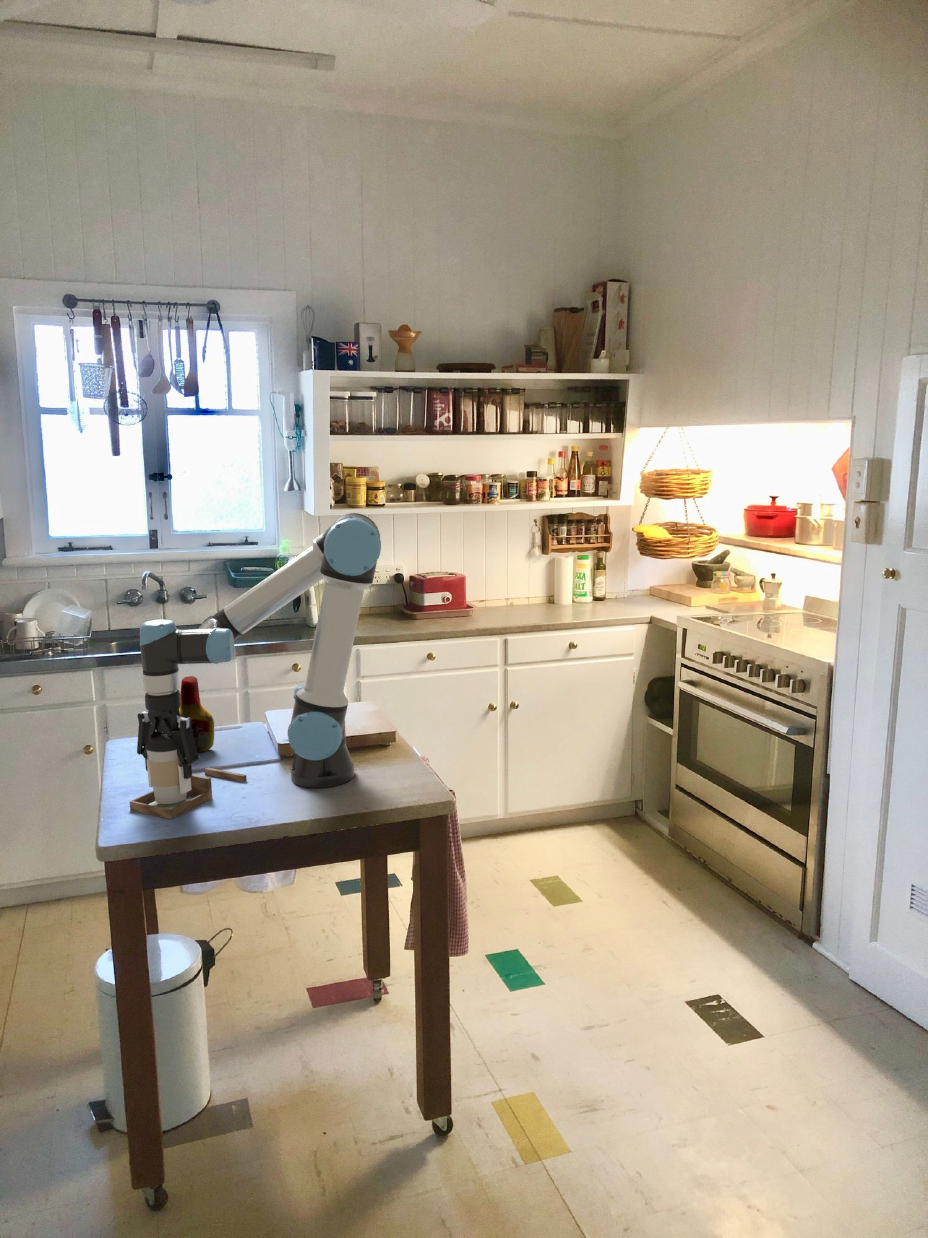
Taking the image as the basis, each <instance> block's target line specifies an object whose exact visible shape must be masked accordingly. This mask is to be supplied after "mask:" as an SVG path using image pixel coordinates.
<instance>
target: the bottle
mask: <svg viewBox="0 0 928 1238" xmlns="http://www.w3.org/2000/svg"><path fill="white" fill-rule="evenodd" d="M180 682H181V685H180V694H181V706H180V708H179V712H180V715H181V717H183V718H189V717H190V718H191V719H192V731H193V736H194V740H195V744H196V748H197V753H203V752H206V751H209V750H211V749H212V747H213V746H214V743H215V742H214V741H215V720H214V717H213V715H212V714H211V712H210V711H208V709H206V707H204V706H203V704H202V703H201V697H200V688H199V681H198V678H197V677H196V676H193V675H192V676H191V675H189V676H185V677H183V678H182V679H181V681H180ZM175 732H176V730H175Z"/></svg>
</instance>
